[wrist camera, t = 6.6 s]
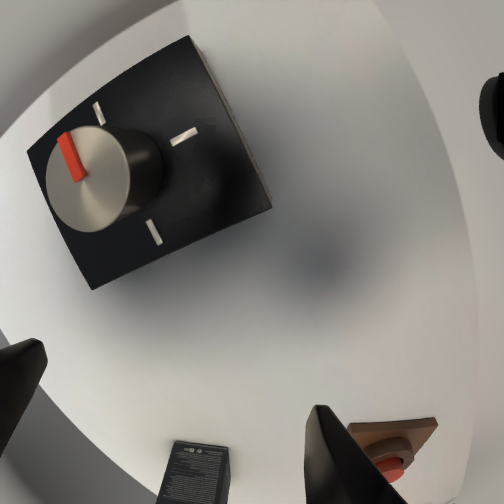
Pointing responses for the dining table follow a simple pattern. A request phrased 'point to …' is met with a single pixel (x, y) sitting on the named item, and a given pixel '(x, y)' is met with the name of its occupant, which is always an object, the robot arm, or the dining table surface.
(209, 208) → the panel
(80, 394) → the dining table surface
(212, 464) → the box
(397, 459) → the button
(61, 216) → the knob
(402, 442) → the button block
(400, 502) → the robot arm
